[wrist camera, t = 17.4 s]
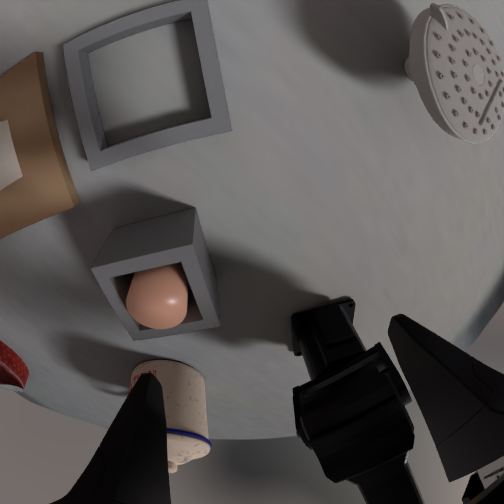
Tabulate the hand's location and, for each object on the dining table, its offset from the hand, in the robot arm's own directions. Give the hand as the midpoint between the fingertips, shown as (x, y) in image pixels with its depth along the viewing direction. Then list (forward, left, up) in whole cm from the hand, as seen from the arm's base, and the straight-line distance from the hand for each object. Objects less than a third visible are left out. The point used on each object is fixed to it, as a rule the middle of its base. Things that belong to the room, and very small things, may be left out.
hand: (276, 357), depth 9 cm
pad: (+10, +17, -12) cm, 23 cm away
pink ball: (-2, +6, -11) cm, 13 cm away
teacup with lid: (-19, +13, -12) cm, 26 cm away
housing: (-2, +6, -12) cm, 14 cm away
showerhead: (+10, -15, -12) cm, 22 cm away
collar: (+10, +4, -12) cm, 16 cm away
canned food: (-12, +38, -12) cm, 42 cm away
